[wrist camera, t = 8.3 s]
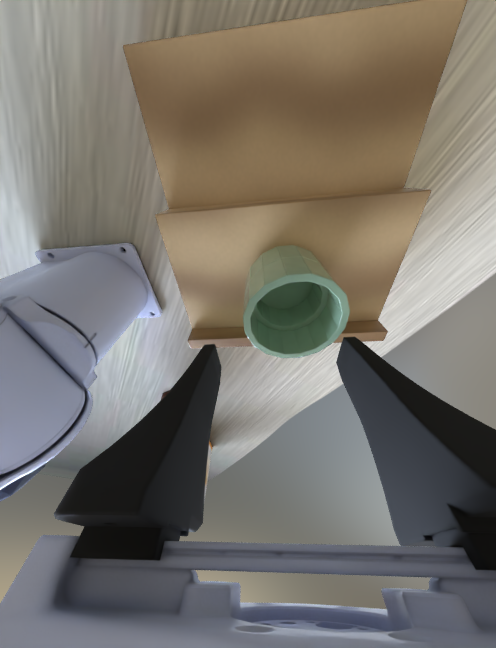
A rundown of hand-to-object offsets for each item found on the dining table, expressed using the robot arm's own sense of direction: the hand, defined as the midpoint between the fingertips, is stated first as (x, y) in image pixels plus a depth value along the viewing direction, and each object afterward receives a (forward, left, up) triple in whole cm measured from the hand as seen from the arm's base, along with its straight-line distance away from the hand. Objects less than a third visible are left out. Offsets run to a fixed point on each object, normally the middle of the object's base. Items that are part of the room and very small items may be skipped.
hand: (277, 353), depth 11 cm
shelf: (+1, +5, -10) cm, 12 cm away
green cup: (+1, +2, -5) cm, 6 cm away
